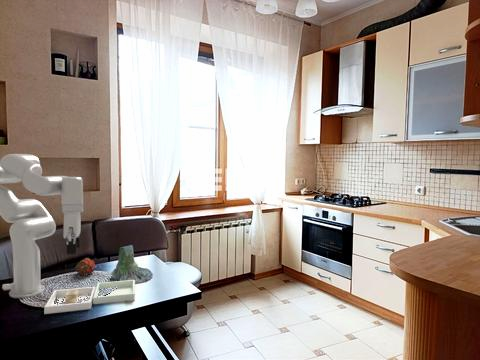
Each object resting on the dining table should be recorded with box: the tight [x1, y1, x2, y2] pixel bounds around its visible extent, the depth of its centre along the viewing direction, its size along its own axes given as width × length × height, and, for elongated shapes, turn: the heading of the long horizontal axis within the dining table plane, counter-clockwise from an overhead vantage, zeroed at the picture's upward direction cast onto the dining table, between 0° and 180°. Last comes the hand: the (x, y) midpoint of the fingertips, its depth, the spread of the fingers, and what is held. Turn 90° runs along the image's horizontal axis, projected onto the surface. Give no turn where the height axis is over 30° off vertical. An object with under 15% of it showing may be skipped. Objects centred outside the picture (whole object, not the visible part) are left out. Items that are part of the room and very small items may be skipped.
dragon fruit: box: [74, 257, 96, 276], centre depth 159 cm, size 8×8×12 cm
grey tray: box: [43, 286, 97, 315], centre depth 127 cm, size 16×16×3 cm
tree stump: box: [110, 244, 154, 285], centre depth 156 cm, size 18×20×18 cm
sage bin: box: [92, 280, 136, 305], centre depth 135 cm, size 16×16×3 cm
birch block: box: [65, 290, 78, 304], centre depth 127 cm, size 4×4×4 cm
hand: (73, 250), depth 126 cm, fingers open, 9 cm apart
